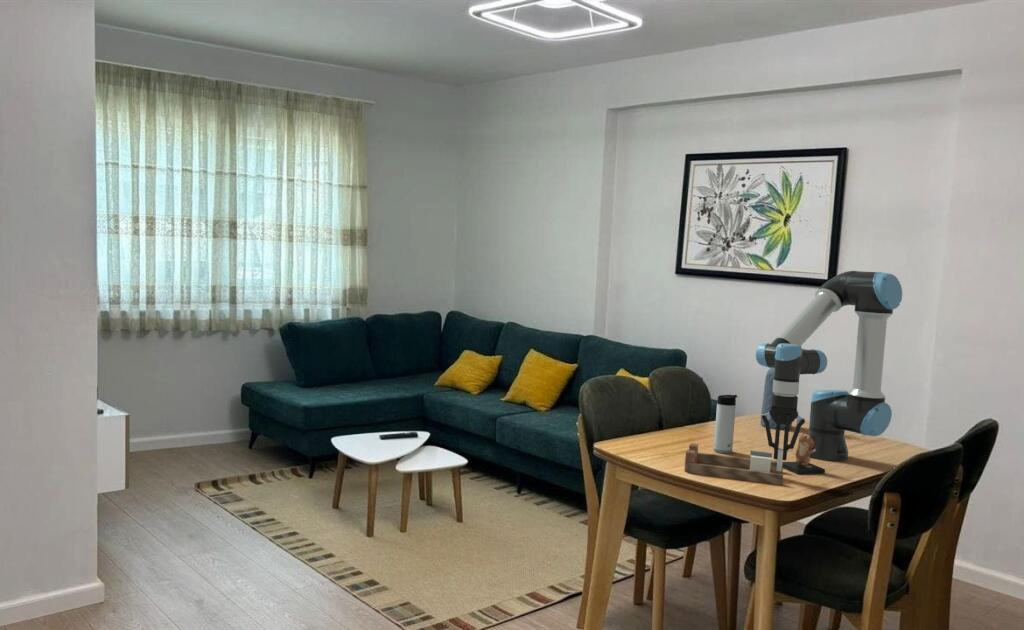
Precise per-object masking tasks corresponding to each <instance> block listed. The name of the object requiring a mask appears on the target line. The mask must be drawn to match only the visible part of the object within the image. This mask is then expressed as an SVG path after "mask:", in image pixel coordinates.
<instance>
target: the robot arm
mask: <svg viewBox="0 0 1024 630" xmlns="http://www.w3.org/2000/svg"><path fill="white" fill-rule="evenodd" d="M902 300H903V288H902V284H901V282H900V281H899V279H898V278H897V277H896V275H894V274H892V273H889V272H882V271H863V270H862V271H858V270H849V271H845V272H844V271H843V272H842V273H839V274H837V275H835V276H834V277H832V278H830V279H828V280H827V281H826V282H825V283H823V284H822V285H821V286H820V287H819V288H818V289H817V290H815V294H814V298H813V299H812V300H811V301H809V303H808V304H807V305H806V306H805V307H804V308H803V310H801V311H800V312H799V314H798V315H796V316H795V318H793V320H792V321H791V322H790V323H789V324H788V325H787V326H786V327H785V328H784V329H783V331H782V332H780V334H779V335H778V336H777V337H776V338H775V339H773V341H772V342H771V343H761V344H759V345H758V347H757V349H756V350H755V351H756V352H755V360H756V361H757V364H759V366H762V367H765V368H769V369H770V368H775V369H774V379H773V392H774V394H773V395H772V404H771V409H770V410H769V412H768V413H766V414H763V415H762V419H763V421H764V422H765V427H764V428H765V431H766V437H767V444H768V447H771V448H773V459H774V460H776V462H777V471H782V462H783V461H787V458H788V457H787V456H788V450H794V448H795V446H796V443H797V439H798V437H799V435H800V431H801V428H802V426H803V425H804V424H805V423H806V420H805V418H804V417H803V418H802V416H800V415H799V411H798V402H799V400H798V399H799V397H798V395H799V388H800V375H815V374H821V373H823V372H825V370H826V368H827V367H828V357H827V355H826V354H825V352H823V351H822V350H820V349H812V348H811V349H805V348H802V346H803V345H804V343H805V342H807V340H808V339H809V338H810V337H812V335H813V333H815V332H816V331H817V329H819V327H820V326H821V325H822V324H823V323H824V322H825V321H826V320H827V319H828V318H829V317H830V316H831V315H832V313H836V312H838V311H840V310H841V308H843V307H845V306H854V313H855V315H857V316H858V327H857V334H856V335H857V337H856V349H855V358H854V359H855V360H854V371H853V372H854V373H853V383H852V388H851V389H850V390H849V391H847V390H843V389H842V390H841V389H840V390H839V389H822V390H821V389H820V390H818V389H817V390H814V391H813V392H812V394H811V401H810V411H809V412H810V414H809V428H808V433H807V435H808V436H809V435H810V436H809V437H811V439H813V441H814V445H815V447H814V448H812V450H813V449H815V450H816V451H815V452H813V453H811V454H810V458H812V459H818V460H822V461H823V460H825V461H833V462H834V461H837V462H838V461H839V462H840V461H841V462H842V461H846V460H848V459H849V449H848V446H847V441H846V437H845V434H846V433H845V431H847V432H852V433H856V434H860V435H862V436H868V437H869V436H870V437H878V436H881V435H882V434H883V433H884V432H885V431H886V430H887V429H888V427H889V426H890V423H891V421H892V415H893V414H892V409H891V405H890V404H888V403H887V402H885V401H886V395H885V394H884V392H882V383H883V382H882V380H883V369H884V360H885V359H884V357H885V348H886V347H885V345H886V335H887V324H888V318H890V317H891V316H892V315H894V314H893V313H894V310H895V309H897V308H898V307H899V306H900V304H901V303H902ZM770 415H771V417H772V418H773V420H774V422H775V423H776V429H775V433H774V434H775V436H774V442H773V436H772V432H771V428H770V425H769V420H770ZM795 420H796V426H795V428H794V432H793V433H792V437H791V440H790V443H789V433H790V429H789V425H790V424H791V423H792V424H793V423H794V422H795ZM781 424H784V425H785V429H784V434H783V447H782V448H781V447H780V446H779V445H780V435H781V429H780V425H781ZM779 447H780V448H779Z"/></svg>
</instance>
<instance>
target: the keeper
mask: <svg viewBox="0 0 1024 630" xmlns="http://www.w3.org/2000/svg"><path fill="white" fill-rule="evenodd" d="M749 453H750V458H749V459H750V469H749V470H754V471H762V472H770V466H771V461H772V458H773V452H767V451H760V450H759V451H758V450H750V452H749ZM770 473H771V472H770Z"/></svg>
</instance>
